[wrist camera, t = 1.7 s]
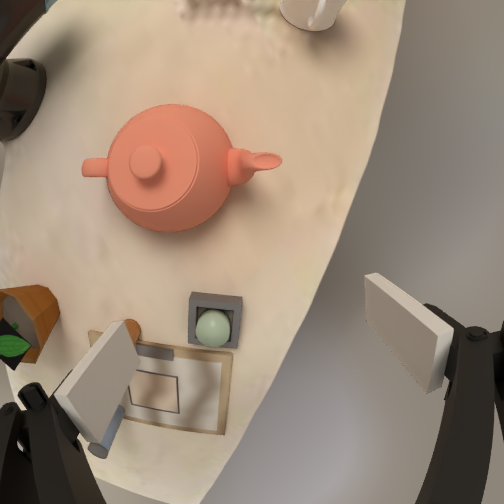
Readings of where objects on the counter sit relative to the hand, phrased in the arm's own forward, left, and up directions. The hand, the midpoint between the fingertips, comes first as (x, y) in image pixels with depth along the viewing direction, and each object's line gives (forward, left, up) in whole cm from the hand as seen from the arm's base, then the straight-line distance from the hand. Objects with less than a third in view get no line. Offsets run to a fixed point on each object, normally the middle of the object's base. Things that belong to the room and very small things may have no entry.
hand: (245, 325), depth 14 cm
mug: (+5, +34, -24) cm, 42 cm away
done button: (-3, -12, -22) cm, 25 cm away
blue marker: (-21, -35, -23) cm, 46 cm away
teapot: (-9, +8, -24) cm, 27 cm away
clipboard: (-12, -28, -24) cm, 38 cm away
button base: (-3, -12, -24) cm, 26 cm away
